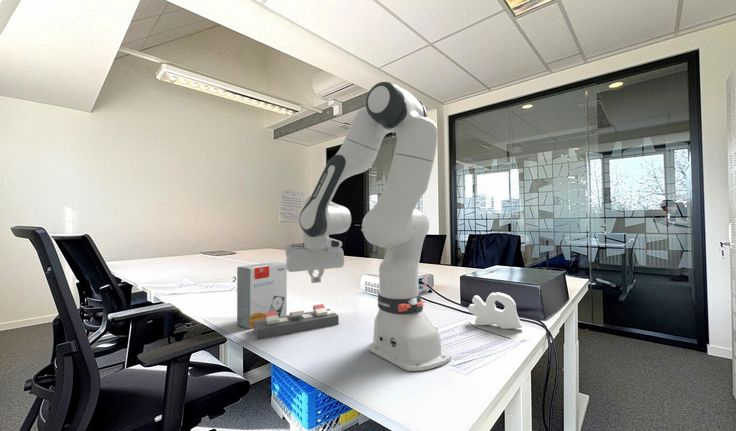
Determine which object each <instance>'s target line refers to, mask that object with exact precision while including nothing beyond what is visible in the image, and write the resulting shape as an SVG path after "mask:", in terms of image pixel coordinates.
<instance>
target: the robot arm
mask: <svg viewBox="0 0 736 431" xmlns="http://www.w3.org/2000/svg"><path fill="white" fill-rule="evenodd" d="M365 98H366V100H365V106H364V107H361V108H359V109H358V110H357V112H356V113H355V115H354V117H353V119H352V121H351V123H350V125H349V127H348V129H347V132H346V134H345V137H344V140H343V142H342V144H341V146H340V148H339V149H338V151H337V152H336V154H334V155H333V156H332V157H331V158H330V159H329V160H328V162H327V163H326V165H325V167H324V169H323V170H322V172H321V175H320V177H319V179H318V181H317V183H316V185H315V187H314V190H313V192H312V193H311V196H309V197H307V198H305V199H304V203H303V208H302V209H301V211H300V214H299V217H298V218H299V219H298V223H299V226H300V228H301V230H302V242H299V243H290V245H287V246H286V247H285V256H286V261H285V263H286V269H287V272H289V273H295V272H304V271H305V272H306V271H307V273H308V275H309V276H310V280H311V281H310V282H311V283H312V284H316V283H321V282H322V277H323V276H324V273H325V270H328V269H340V268H343V267H344V266H345V254H344V250H343V248H342V246H343V242H342V241H341V240H338V239H335V238H332V237H330V235H338V234H342V233H346V232H348V230H349V229H350V228H351V226H352V225H351V224H352V219H353V218H352V214H351V212H350V211H351V210H350V209H349V208H348V207H346V206H344V205H340V204H338V203H335V202H333V201H332V200H333V198H334V197H335V194H336V192H337V190H338V188H339V186H340V184H341V183H342V182H344V181H345V180H346V179H348V178H350V177H353V176H355V175H359V174H362V173H365V172H367V170H369V169H370V168H371V167H372V166H373V165H374V162H375V160H376V158H377V156H378V153H379V150H380V148H381V144H382V142H383V141H384V138H385V136H386V135H388V134H390V133H391V134H392V135H393V136H396V143H395V144H396V145H395V148H394V152H393V157H392V161H391V166H390V170H389V174H388V179H387V182H386V184H385V187H384V189H383V191H382V193H381V195H380V196H379V198H378V200H377V201H376V204H375V205H374V206H373V207H372V208H371V209H370V210H369V211H368V212H367V213H366V214H365V216H364V217H363V219H362V223H361V224H362V225H361V229H362V230H361V231H362V234H363V236H364V239H366V241H367V242H368V243H370V244H371V245H374V246H378V247H381V248H386V252H385V256H384V258H383V260H382V261H381V262H380V265H379V268H378V273H379V274H378V278H379V279H378V281H379V283H378V284H379V286H378V287H379V289H378V290H379V292H378V294H377V307H378V311H377V314H376V316H375V317H374V323H373V335H372V336H373V338H372V343H371V344H370V345H369V352H370V353H373V354H374V355H376V356H378V357H380V358H382V359H384V360H386V361H388V362H390V363H391V364H394V365H395V366H397V367H398V368H401V369H403V370H405V371H408V372H418V371H419V372H421V371H426V370H430V369H433V368H437V367H441V366H443V365H446V364H447V363H449V362H450V360H451V359H452V355H451V353H450V352H449V351H447V350H446V349H445V348H444V347H442V342H441V336H440V333H439V331H438V330H439V329H438V327H437V325H435V324H433V323H432V321H431V320H430V319H429V317H428V316H427V314H426V313H425V312H424V310H423V309H424V307H423V306H425V301H423V300H422V298H421V294H419V267H420V260H421V255H422V254H421V253H422V250H423V246H424V245H423V244H424V241H425V238H426V236H427V234H428V232H429V230H430V221H429V219H428V217H427V215H426V214H425V213H424V212H423V211H421V210H419V209H416V207H417V204H418V202H419V200H420V199H421V197H422V196H423V195H424V194H425V193H426V192H427V190H428V187H429V182H430V178H431V176H432V170H433V166H434V161H435V156H436V153H437V151H436V150H437V143H438V127H437V125H436V124H437V123H435V121H433V120H432V119H430V118H428V112H427V109H426V107H425V106H424V104H423V103H422V101H420V100H419V99H417V98H416V97H414V95H413V94H412V93H411V92H410V91H408V90H406V89H404V88H402V87H400V86H399V85H398V84H396V83H393V82H390V81H380V82H377V83H376V84H375V85H373V86H372V87H371V88H370V89H369V91H368V93H367V95H366V97H365ZM315 271H318V272H319V273H318V274H317V276H314V272H315Z"/></svg>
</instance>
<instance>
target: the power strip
mask: <svg viewBox="0 0 736 431" xmlns="http://www.w3.org/2000/svg"><path fill="white" fill-rule="evenodd" d="M326 310H327V311H328V313H327V315H323V316H317V315H316V314H315V312H314V310H313V311H307V312H304V315H299V316H290V314H288V315H287V316H281V317H279V323H275V324H269V325H267V322H266V319H262V320H255V321H254V327H253V331H254V334H255V337H256V339H257V341H258V340H259V341H260V340H263V339H264V340H265V339H268V338H274V337H278V336H279V337H280V336H286V335H291V334H294V333H295V334H296V333H301V332H306V331H312V330H317V329H323V328H328V327H333V326H338V325H340V324H339V322H340V320H339V317H340V316H339V315H338V313H336V312H335V311H334V310H332V309H331V308H326Z"/></svg>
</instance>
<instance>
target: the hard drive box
mask: <svg viewBox="0 0 736 431" xmlns="http://www.w3.org/2000/svg"><path fill="white" fill-rule="evenodd" d="M236 272H237V274H236V275H237V276H236V281H237V282H236V285H237V286H236V287H237V288H236V297H237V298H236V325H237V326H240V327H242V328H245V329H248V330H250V329H254V321H255V320H262V319H266V318H265V313H266V312H273V311H277V314H278V317H281V316H287V311H288V310H287V306H288V305H287V304H288V303H287V302H288V301H287V300H288V298H287V297H288V290H287V286H288V284H287V282H288V279H287V278H288V270H287V269H286V262H279V261H272V262H264V263H256V264H248V265H240V266H237V268H236Z"/></svg>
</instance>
